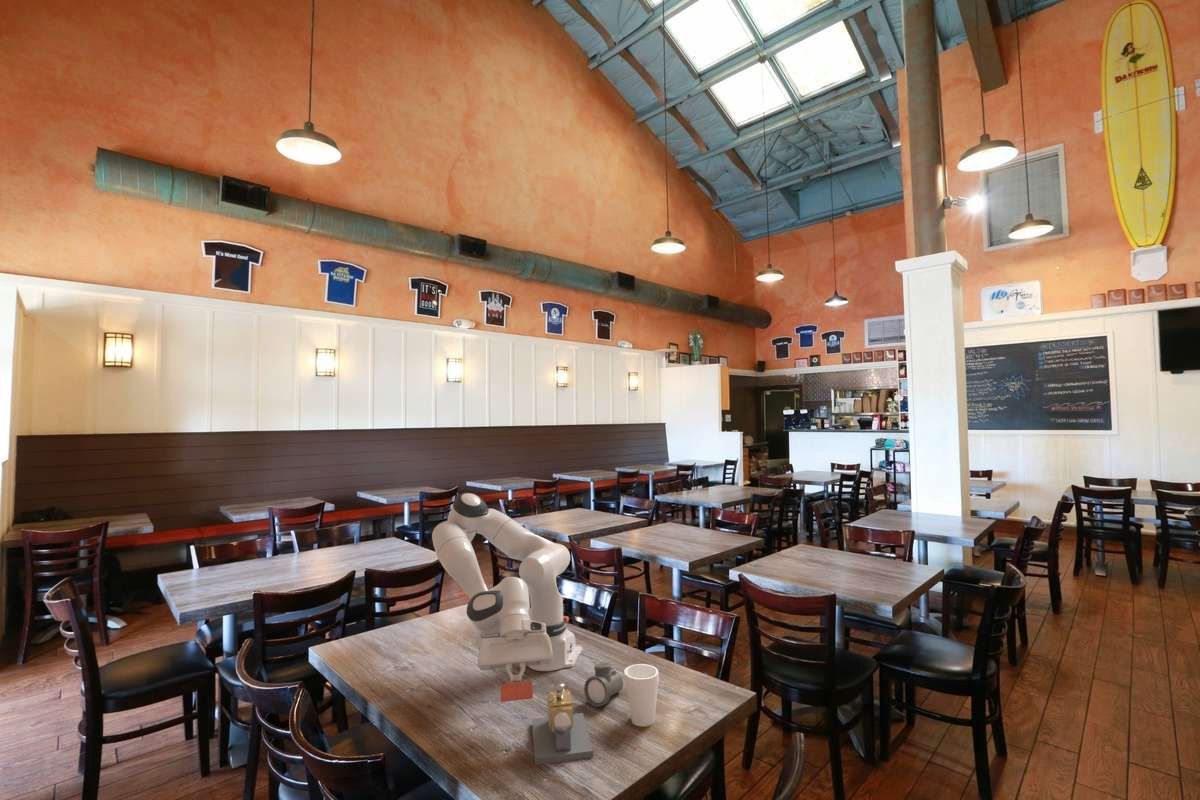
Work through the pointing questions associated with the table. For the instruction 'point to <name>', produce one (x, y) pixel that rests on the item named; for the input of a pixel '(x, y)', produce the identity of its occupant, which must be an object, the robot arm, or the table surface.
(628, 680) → the foam cup
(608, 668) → the pipe fitting
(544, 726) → the slate plate
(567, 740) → the pipe and valve
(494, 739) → the table surface
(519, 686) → the valve lever
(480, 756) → the table surface
